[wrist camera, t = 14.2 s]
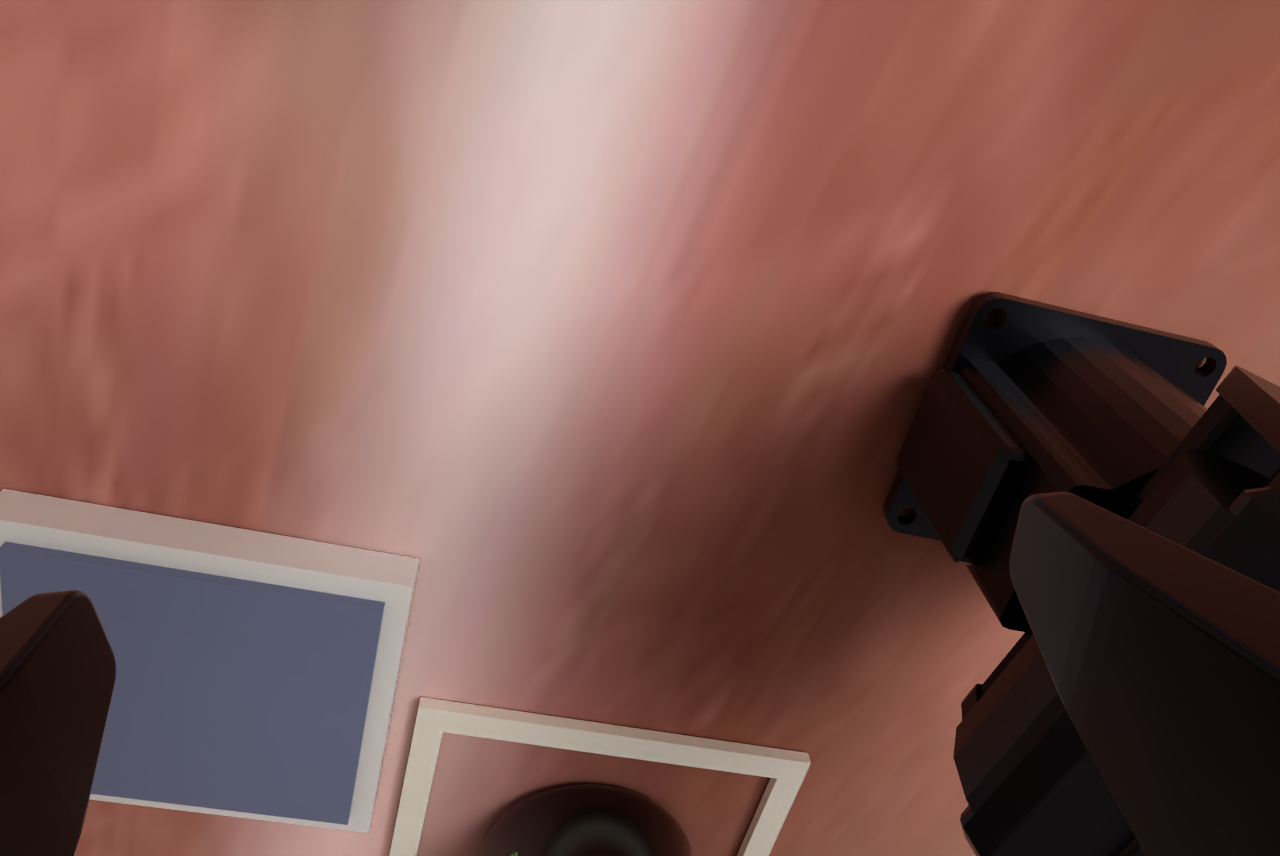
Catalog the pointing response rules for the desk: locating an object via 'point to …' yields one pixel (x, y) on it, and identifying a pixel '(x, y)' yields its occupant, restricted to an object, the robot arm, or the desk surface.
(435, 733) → the marked square
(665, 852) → the supplement bottle
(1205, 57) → the desk surface
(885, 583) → the desk surface
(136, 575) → the ink pad
